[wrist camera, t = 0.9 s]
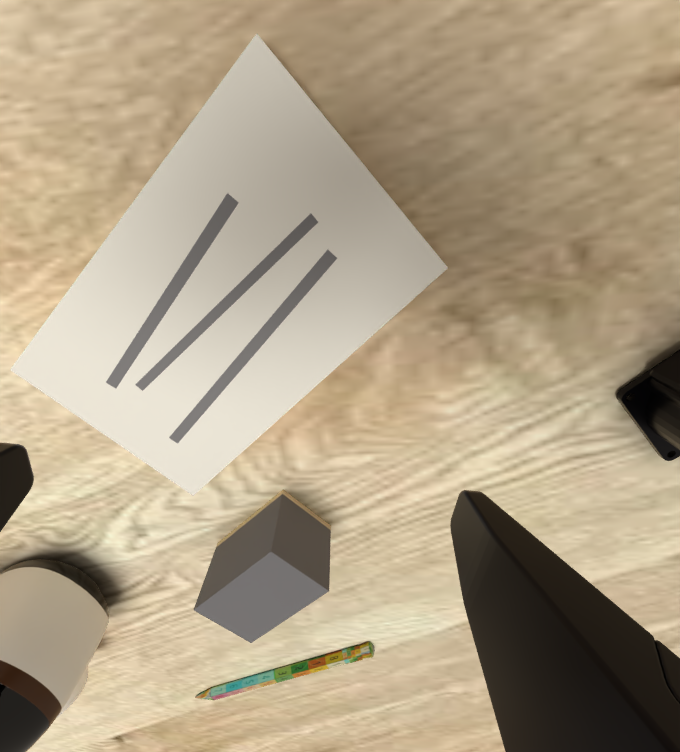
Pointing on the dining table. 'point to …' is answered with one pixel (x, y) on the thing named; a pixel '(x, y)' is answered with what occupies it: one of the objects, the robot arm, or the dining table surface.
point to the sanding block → (267, 569)
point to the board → (230, 281)
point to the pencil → (290, 671)
